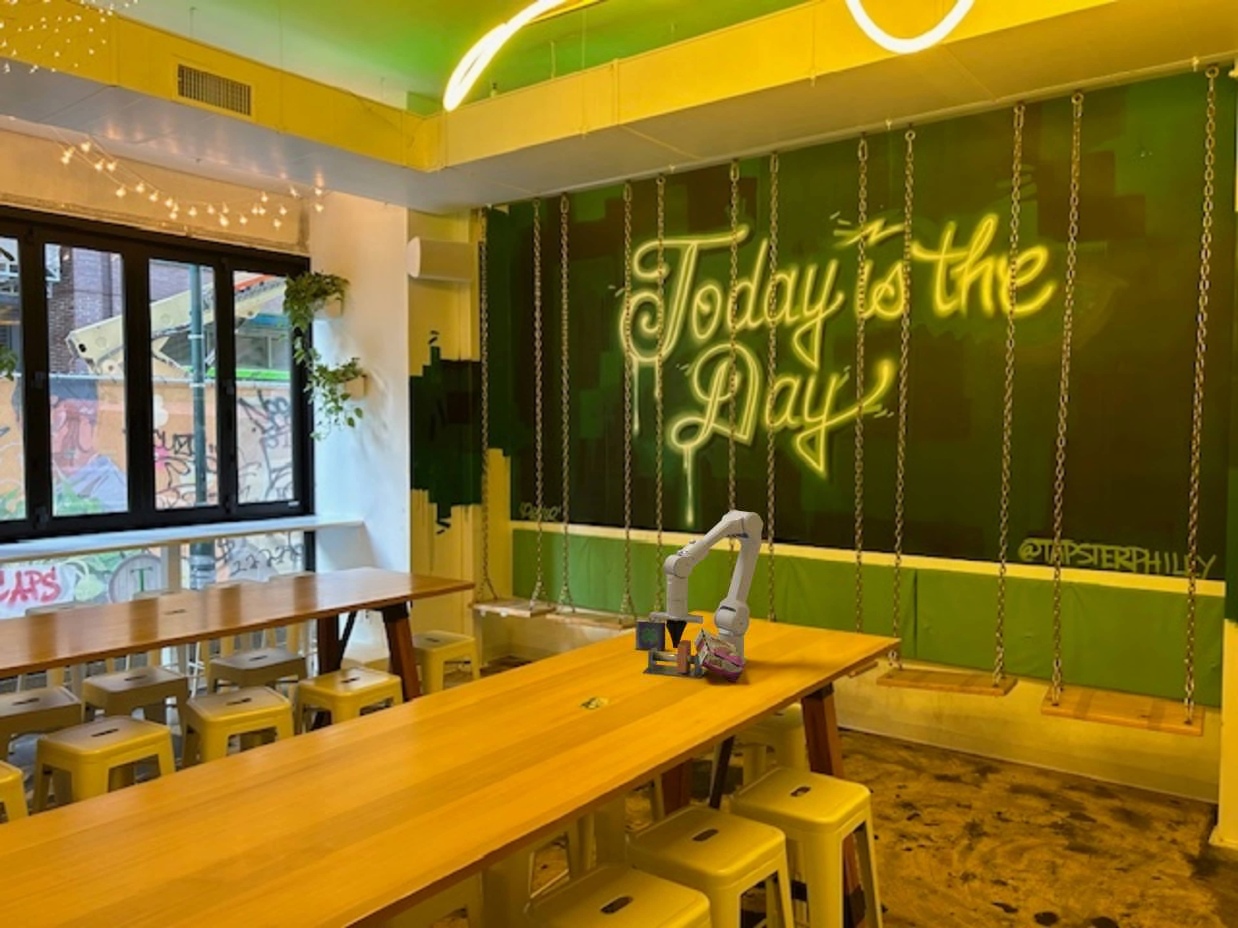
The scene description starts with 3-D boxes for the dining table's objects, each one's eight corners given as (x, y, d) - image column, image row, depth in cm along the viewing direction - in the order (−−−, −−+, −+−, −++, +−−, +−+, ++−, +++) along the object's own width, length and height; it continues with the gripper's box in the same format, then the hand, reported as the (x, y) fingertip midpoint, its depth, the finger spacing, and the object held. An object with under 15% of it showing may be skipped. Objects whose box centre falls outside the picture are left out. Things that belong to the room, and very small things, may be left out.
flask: (634, 649, 282) (635, 614, 282) (636, 647, 285) (637, 613, 285) (664, 652, 280) (665, 616, 280) (666, 649, 283) (666, 615, 282)
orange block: (682, 666, 260) (682, 639, 260) (690, 667, 259) (691, 640, 259) (677, 671, 254) (677, 644, 254) (685, 672, 254) (686, 645, 253)
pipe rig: (651, 665, 264) (651, 645, 264) (706, 670, 260) (707, 650, 259) (642, 673, 256) (643, 652, 255) (700, 678, 251) (700, 658, 251)
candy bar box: (709, 649, 245) (701, 627, 261) (700, 665, 246) (692, 642, 262) (746, 667, 247) (735, 644, 263) (736, 683, 248) (726, 658, 264)
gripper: (647, 599, 255) (647, 648, 256) (699, 603, 251) (698, 652, 251) (654, 595, 262) (653, 642, 262) (705, 598, 258) (704, 647, 258)
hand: (676, 647), depth 257 cm, fingers closed
